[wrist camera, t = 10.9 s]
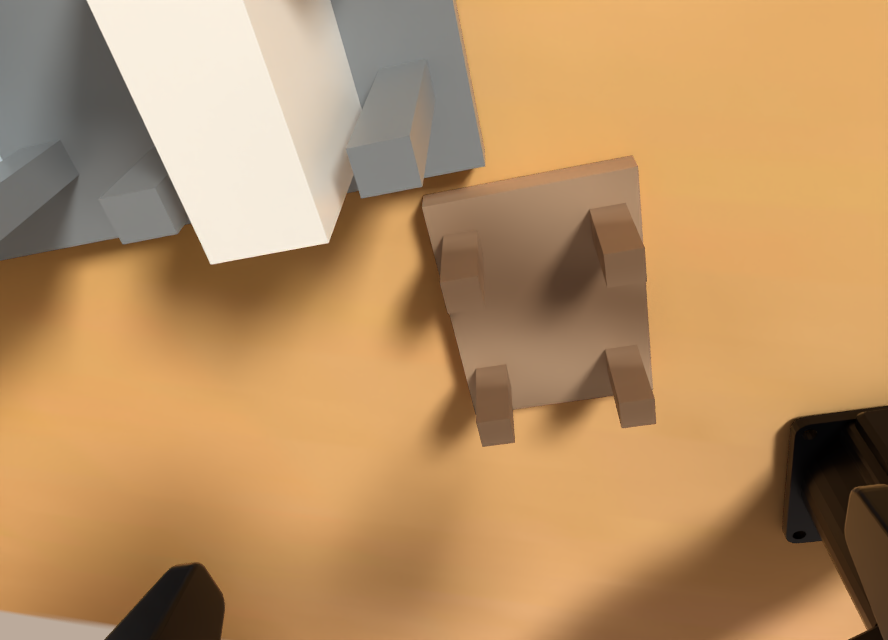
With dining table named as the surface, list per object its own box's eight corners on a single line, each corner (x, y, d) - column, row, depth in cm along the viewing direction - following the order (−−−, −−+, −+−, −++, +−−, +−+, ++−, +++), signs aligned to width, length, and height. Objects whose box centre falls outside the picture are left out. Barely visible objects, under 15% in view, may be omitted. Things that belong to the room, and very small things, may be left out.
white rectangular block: (368, 133, 18) (328, 243, 13) (281, 151, 18) (210, 264, 13) (274, -196, 14) (166, -216, 9) (166, -164, 14) (7, -168, 10)
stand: (647, 374, 24) (671, 445, 21) (475, 399, 25) (476, 470, 22) (632, 155, 19) (659, 208, 16) (423, 195, 20) (415, 251, 17)
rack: (484, 149, 19) (489, 269, 14) (-71, 259, 22) (-249, 395, 17) (393, -321, 14) (341, -428, 8) (-331, -98, 17) (-724, -69, 11)
